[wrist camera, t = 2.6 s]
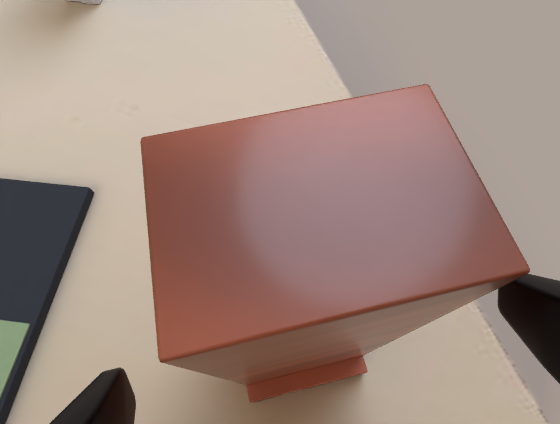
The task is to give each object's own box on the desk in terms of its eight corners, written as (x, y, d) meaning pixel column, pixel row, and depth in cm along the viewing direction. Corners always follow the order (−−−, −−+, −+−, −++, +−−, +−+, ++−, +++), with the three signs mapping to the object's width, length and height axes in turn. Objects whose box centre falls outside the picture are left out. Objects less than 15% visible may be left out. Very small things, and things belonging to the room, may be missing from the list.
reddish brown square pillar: (363, 373, 16) (561, 320, 5) (251, 402, 16) (162, 423, 4) (331, 270, 18) (414, 55, 7) (232, 293, 18) (136, 106, 6)
